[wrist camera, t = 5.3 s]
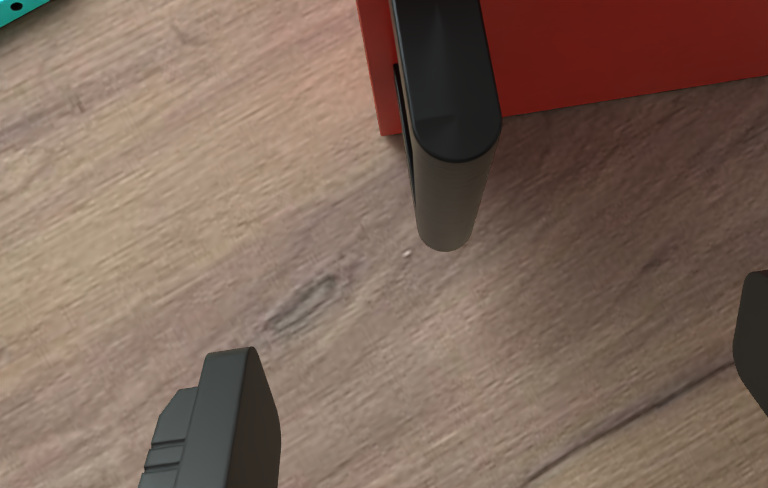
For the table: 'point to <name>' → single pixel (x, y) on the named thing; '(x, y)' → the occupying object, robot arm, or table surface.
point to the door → (531, 75)
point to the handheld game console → (17, 9)
